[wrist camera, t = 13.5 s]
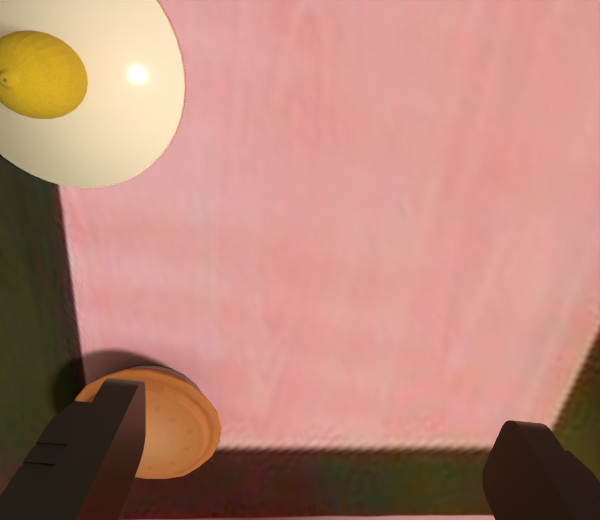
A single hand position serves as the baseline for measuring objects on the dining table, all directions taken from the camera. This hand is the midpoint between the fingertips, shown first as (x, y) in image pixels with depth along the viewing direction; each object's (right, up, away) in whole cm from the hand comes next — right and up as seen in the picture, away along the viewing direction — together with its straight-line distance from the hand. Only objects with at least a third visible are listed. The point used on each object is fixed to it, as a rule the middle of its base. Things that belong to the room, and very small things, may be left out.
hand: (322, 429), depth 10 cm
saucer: (-19, +18, +25) cm, 36 cm away
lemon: (-18, +18, +24) cm, 35 cm away
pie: (-17, -12, +40) cm, 45 cm away
